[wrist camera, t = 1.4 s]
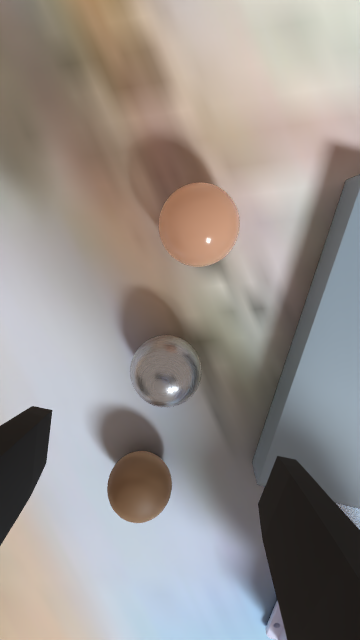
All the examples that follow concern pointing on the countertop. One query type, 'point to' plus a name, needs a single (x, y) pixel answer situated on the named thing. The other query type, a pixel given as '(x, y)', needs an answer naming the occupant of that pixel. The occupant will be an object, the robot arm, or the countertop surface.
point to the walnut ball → (139, 486)
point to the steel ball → (165, 371)
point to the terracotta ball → (199, 224)
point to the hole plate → (323, 370)
